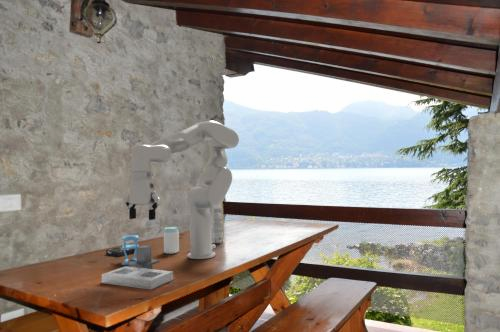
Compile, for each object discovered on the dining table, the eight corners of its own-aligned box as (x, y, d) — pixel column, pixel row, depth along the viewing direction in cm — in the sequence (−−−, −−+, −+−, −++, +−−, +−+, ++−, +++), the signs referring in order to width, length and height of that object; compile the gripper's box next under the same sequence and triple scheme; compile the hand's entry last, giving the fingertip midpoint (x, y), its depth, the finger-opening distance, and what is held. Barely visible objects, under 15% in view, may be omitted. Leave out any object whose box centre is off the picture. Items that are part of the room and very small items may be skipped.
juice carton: (224, 240, 211) (223, 196, 211) (222, 243, 203) (221, 198, 203) (207, 240, 212) (206, 197, 212) (204, 243, 204) (203, 198, 204)
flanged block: (143, 266, 158) (142, 243, 158) (159, 268, 155) (159, 245, 155) (128, 272, 151) (128, 248, 151) (145, 274, 147) (145, 249, 147)
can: (175, 254, 180) (174, 228, 180) (161, 254, 181) (160, 228, 181) (181, 251, 187) (180, 226, 187) (167, 251, 188) (167, 226, 188)
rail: (125, 274, 148) (125, 266, 148) (173, 279, 138) (172, 271, 138) (101, 282, 137) (101, 274, 137) (151, 289, 128) (151, 280, 128)
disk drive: (119, 258, 178) (144, 251, 190) (119, 252, 178) (144, 246, 190) (105, 255, 184) (131, 249, 196) (105, 250, 184) (131, 244, 196)
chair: (139, 259, 173) (138, 232, 173) (141, 263, 165) (140, 234, 165) (121, 261, 170) (120, 233, 170) (122, 265, 162) (121, 236, 162)
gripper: (165, 175, 153) (166, 218, 152) (131, 176, 160) (131, 217, 160) (153, 175, 146) (153, 221, 146) (118, 176, 153) (118, 219, 153)
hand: (142, 219), depth 153 cm, fingers open, 9 cm apart
